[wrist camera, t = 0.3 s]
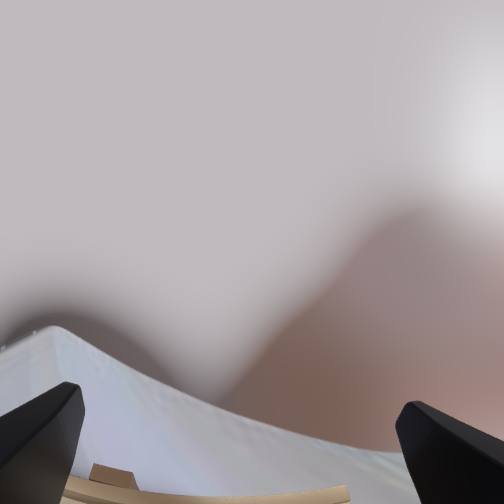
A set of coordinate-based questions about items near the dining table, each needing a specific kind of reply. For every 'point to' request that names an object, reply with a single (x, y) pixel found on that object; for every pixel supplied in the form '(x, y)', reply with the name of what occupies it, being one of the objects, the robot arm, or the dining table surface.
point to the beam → (128, 500)
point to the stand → (113, 477)
